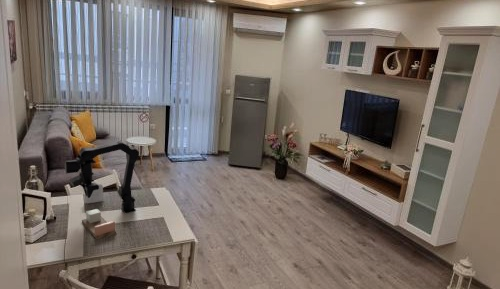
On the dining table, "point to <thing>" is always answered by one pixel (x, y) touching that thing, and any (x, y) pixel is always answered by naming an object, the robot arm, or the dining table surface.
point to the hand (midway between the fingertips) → (87, 196)
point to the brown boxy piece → (100, 228)
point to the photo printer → (96, 195)
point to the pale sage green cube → (93, 215)
